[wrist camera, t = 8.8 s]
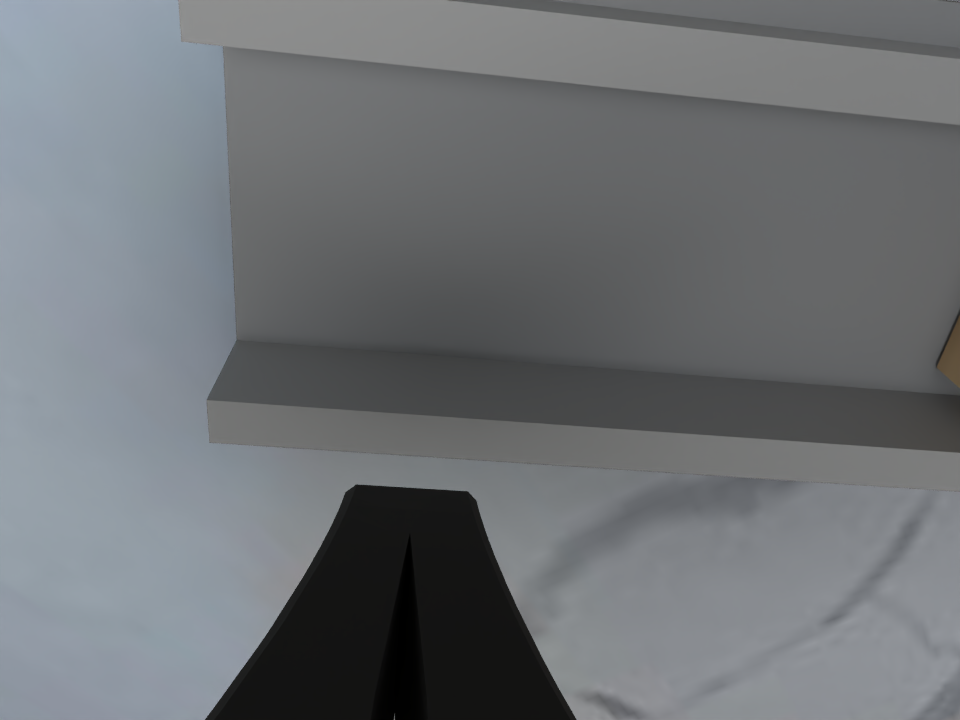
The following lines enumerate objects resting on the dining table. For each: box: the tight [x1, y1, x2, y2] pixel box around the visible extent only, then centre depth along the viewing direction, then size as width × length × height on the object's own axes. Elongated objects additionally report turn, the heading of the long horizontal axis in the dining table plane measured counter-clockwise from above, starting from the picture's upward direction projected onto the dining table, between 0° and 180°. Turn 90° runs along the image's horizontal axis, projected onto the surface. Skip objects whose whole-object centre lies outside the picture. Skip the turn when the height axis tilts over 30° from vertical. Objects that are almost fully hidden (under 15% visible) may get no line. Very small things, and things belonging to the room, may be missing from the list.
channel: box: [178, 0, 960, 492], centre depth 16 cm, size 10×24×4 cm, turn 84°
